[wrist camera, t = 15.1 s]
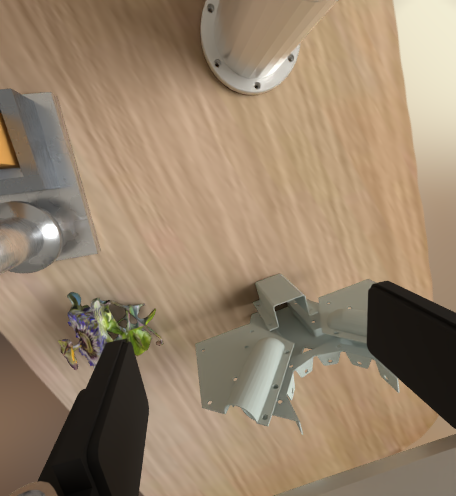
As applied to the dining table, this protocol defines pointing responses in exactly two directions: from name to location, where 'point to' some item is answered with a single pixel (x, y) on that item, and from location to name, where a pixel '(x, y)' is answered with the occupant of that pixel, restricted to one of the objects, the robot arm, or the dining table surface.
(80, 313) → the passion flower
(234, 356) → the bracket
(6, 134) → the tan rectangular block
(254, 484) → the dining table surface
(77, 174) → the gray socket post fixture
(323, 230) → the dining table surface
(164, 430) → the dining table surface
